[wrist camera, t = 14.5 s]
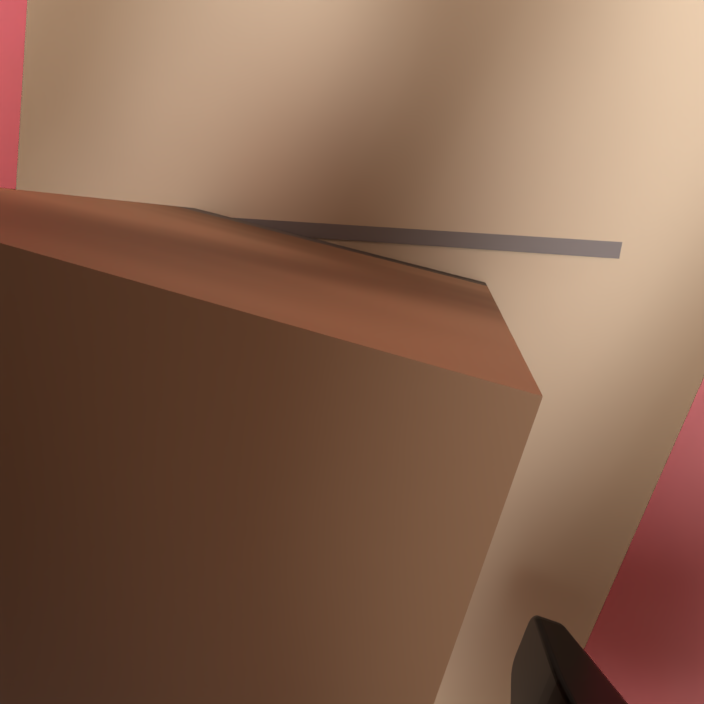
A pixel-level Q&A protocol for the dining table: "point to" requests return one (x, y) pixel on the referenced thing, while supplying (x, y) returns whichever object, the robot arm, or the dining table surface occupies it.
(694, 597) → the dining table surface
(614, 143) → the board
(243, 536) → the block
